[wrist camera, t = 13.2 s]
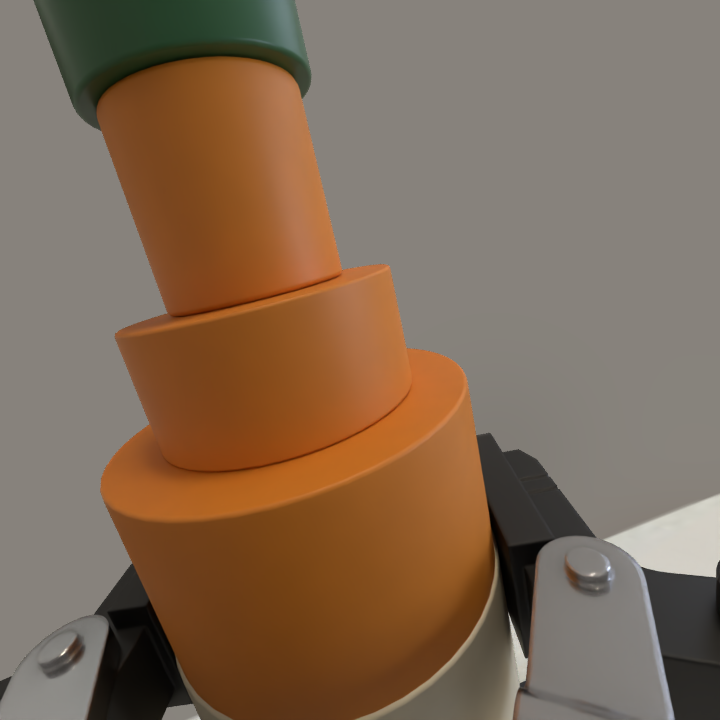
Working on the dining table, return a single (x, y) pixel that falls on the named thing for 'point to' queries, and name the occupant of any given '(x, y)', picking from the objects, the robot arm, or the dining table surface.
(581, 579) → the robot arm
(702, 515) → the dining table surface
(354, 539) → the juice bottle
